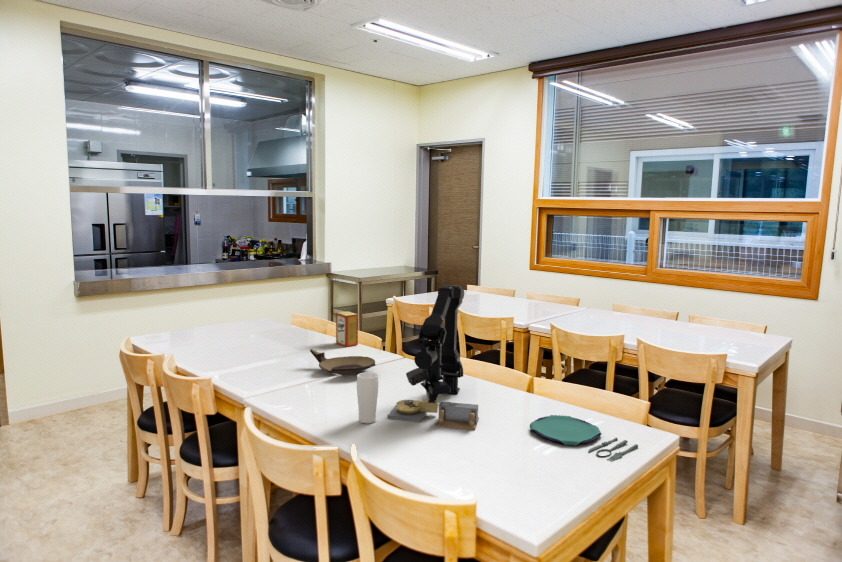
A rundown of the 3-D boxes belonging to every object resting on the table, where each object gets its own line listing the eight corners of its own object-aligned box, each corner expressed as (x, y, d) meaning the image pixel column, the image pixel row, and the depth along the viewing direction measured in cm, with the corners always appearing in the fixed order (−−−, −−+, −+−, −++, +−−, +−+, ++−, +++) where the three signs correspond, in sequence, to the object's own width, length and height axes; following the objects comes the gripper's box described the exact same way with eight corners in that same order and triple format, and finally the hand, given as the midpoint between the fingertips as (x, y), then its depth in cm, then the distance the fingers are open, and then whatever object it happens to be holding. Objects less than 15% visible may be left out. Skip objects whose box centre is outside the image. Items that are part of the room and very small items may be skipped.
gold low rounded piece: (438, 407, 185) (438, 398, 185) (436, 416, 177) (436, 406, 177) (398, 405, 187) (398, 396, 187) (394, 413, 179) (394, 404, 179)
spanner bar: (438, 420, 175) (438, 405, 175) (440, 416, 179) (441, 401, 178) (476, 424, 173) (476, 408, 172) (477, 419, 176) (478, 404, 176)
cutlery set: (558, 416, 183) (558, 409, 183) (643, 448, 160) (644, 441, 160) (518, 431, 171) (518, 424, 170) (604, 469, 148) (605, 460, 147)
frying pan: (341, 385, 211) (341, 366, 210) (301, 368, 233) (301, 350, 232) (387, 374, 226) (387, 356, 225) (345, 359, 248) (345, 342, 247)
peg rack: (442, 415, 182) (442, 401, 181) (478, 419, 179) (479, 405, 178) (436, 425, 173) (437, 411, 172) (474, 430, 170) (475, 415, 170)
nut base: (397, 406, 189) (397, 403, 189) (428, 409, 187) (428, 407, 187) (387, 418, 179) (387, 415, 178) (420, 421, 176) (421, 418, 176)
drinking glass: (358, 426, 172) (358, 379, 170) (355, 418, 178) (355, 372, 176) (380, 424, 174) (380, 377, 172) (375, 416, 180) (376, 371, 178)
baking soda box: (357, 345, 273) (357, 313, 271) (346, 347, 269) (346, 315, 267) (347, 341, 280) (347, 310, 278) (336, 343, 276) (336, 312, 274)
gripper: (400, 354, 188) (399, 398, 190) (418, 370, 170) (417, 419, 173) (431, 351, 191) (430, 395, 194) (452, 367, 174) (450, 415, 176)
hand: (431, 405), depth 184 cm, fingers closed
